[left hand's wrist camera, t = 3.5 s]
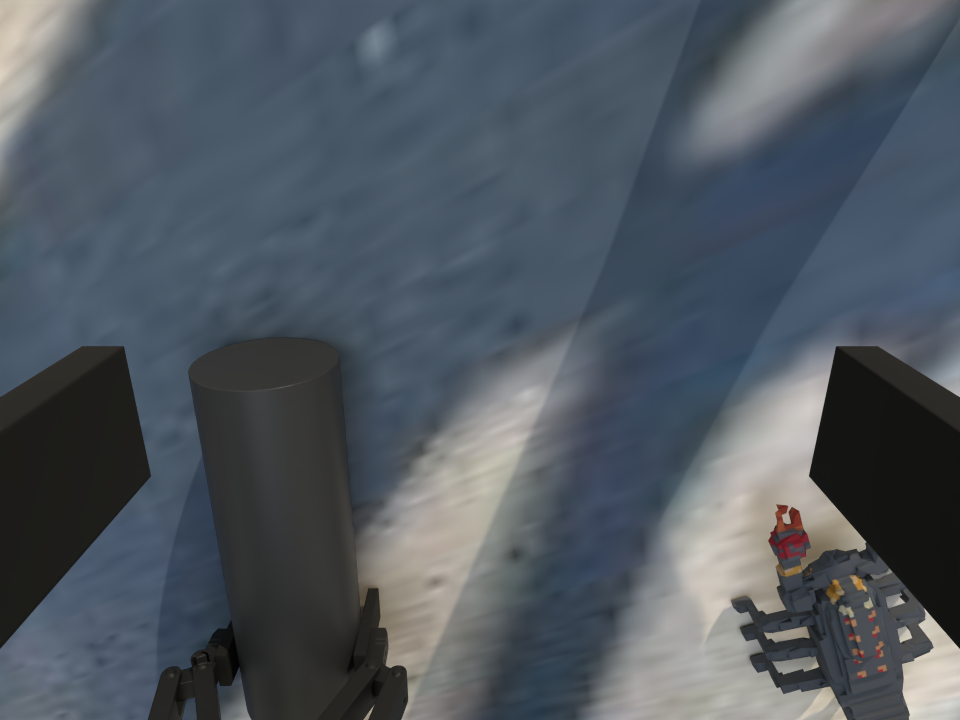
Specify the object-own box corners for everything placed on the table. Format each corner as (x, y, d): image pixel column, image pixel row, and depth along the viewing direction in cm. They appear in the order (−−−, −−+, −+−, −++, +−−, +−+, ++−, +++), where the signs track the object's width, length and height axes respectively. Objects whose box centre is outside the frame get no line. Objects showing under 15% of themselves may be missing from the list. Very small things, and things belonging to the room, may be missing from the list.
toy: (777, 739, 57) (905, 1015, 40) (694, 490, 47) (813, 709, 30) (937, 695, 55) (1144, 965, 38) (882, 427, 46) (1122, 623, 29)
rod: (219, 337, 43) (162, 391, 35) (350, 337, 43) (322, 390, 35) (266, 642, 53) (228, 738, 45) (373, 642, 53) (355, 738, 45)
